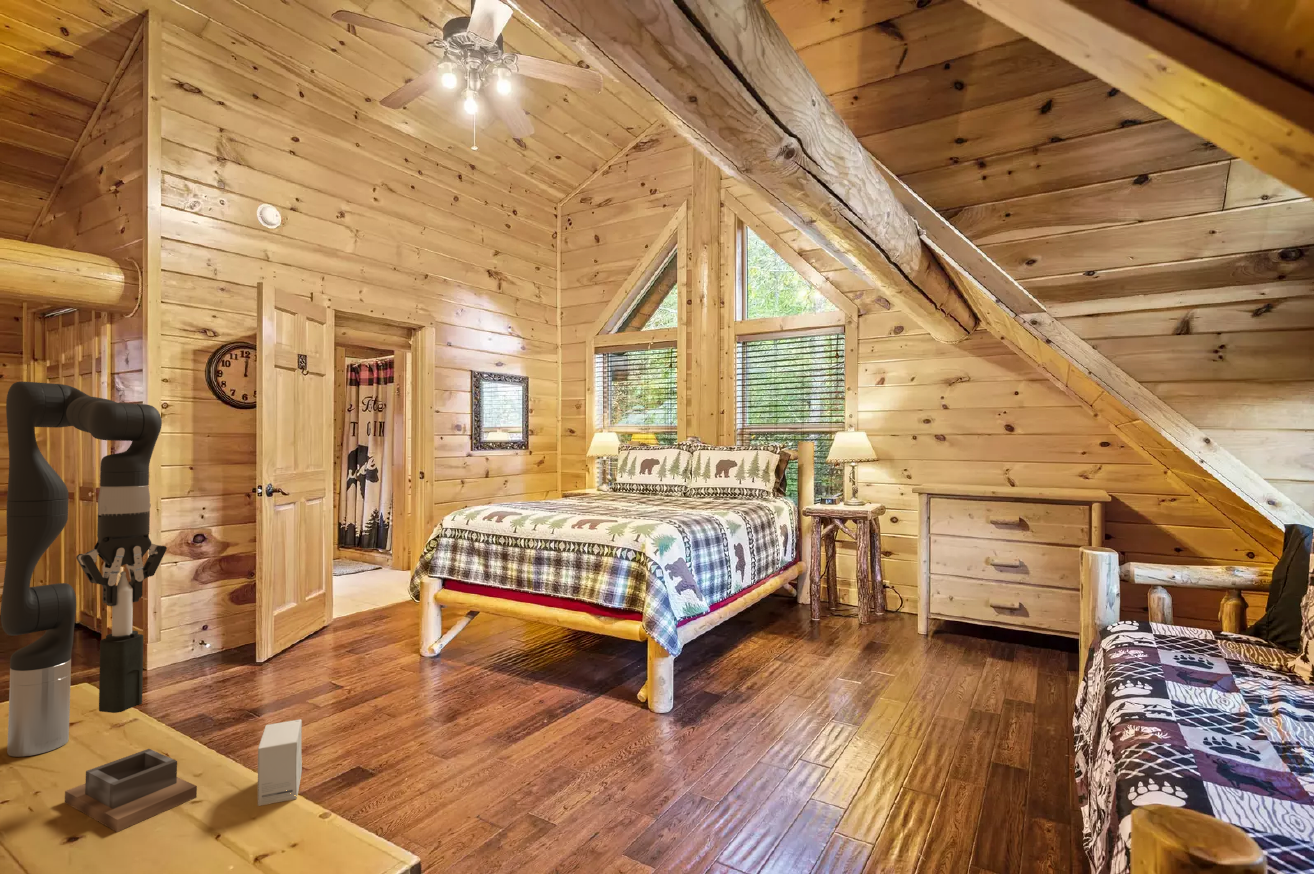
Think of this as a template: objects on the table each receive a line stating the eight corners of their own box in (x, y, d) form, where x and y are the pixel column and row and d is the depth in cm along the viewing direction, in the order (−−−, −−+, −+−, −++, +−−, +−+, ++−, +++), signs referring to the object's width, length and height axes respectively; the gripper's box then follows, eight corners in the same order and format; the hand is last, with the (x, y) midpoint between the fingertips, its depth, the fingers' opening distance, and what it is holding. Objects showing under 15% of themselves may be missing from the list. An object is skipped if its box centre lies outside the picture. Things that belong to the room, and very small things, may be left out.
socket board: (64, 802, 115) (65, 767, 115) (143, 772, 125) (144, 740, 125) (116, 831, 106) (118, 794, 106) (196, 797, 117) (197, 763, 117)
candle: (118, 713, 117) (120, 574, 118) (95, 711, 118) (97, 573, 119) (145, 702, 122) (147, 569, 123) (123, 700, 123) (125, 568, 124)
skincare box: (263, 778, 124) (265, 723, 124) (302, 772, 127) (303, 718, 127) (255, 807, 114) (256, 747, 115) (296, 799, 117) (298, 741, 117)
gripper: (156, 506, 129) (154, 594, 128) (67, 512, 116) (65, 609, 116) (177, 508, 125) (175, 598, 125) (87, 514, 113) (85, 614, 113)
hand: (122, 603), depth 121 cm, fingers closed on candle, 3 cm apart
